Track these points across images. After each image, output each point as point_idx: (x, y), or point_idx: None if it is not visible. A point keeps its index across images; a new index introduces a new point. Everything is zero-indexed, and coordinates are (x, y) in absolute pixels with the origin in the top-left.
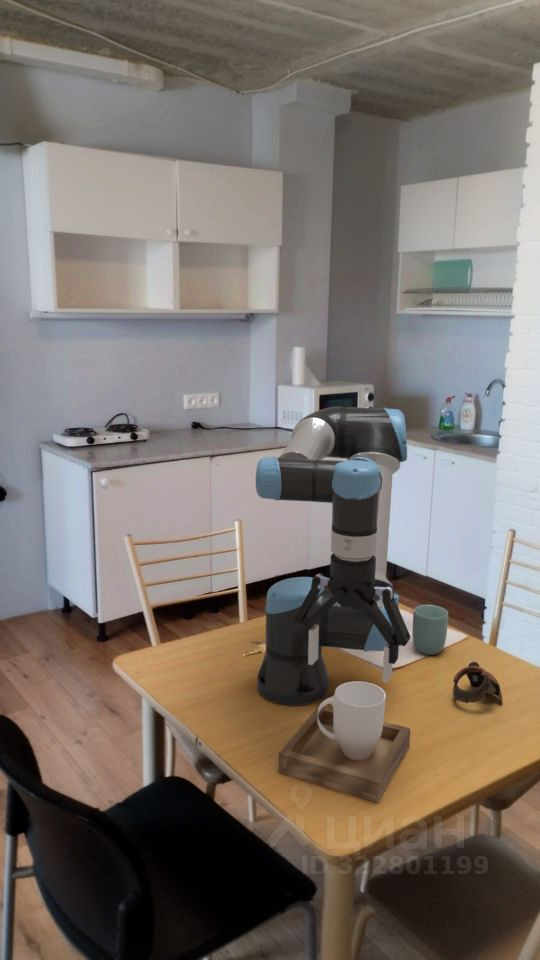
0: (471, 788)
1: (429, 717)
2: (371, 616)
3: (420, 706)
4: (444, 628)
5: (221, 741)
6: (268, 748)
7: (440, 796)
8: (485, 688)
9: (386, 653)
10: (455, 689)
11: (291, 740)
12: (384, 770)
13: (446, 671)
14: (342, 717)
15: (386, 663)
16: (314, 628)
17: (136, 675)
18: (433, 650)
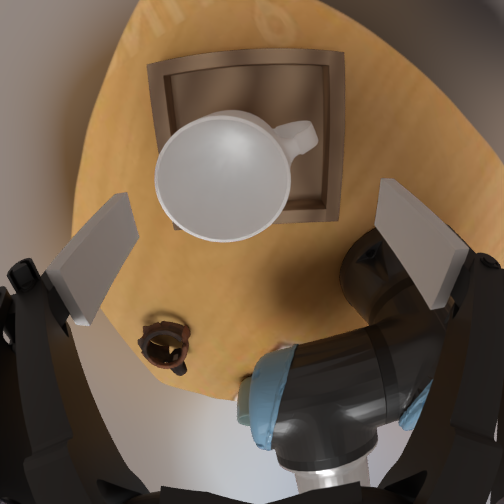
0: (80, 175)
1: (192, 286)
2: (52, 422)
3: (214, 301)
4: (237, 406)
5: (434, 103)
6: (373, 108)
7: (98, 135)
8: (143, 341)
9: (65, 251)
10: (177, 334)
11: (341, 96)
12: (153, 98)
13: (222, 362)
14: (244, 114)
15: (85, 226)
16: (448, 275)
17: None
18: (246, 381)
